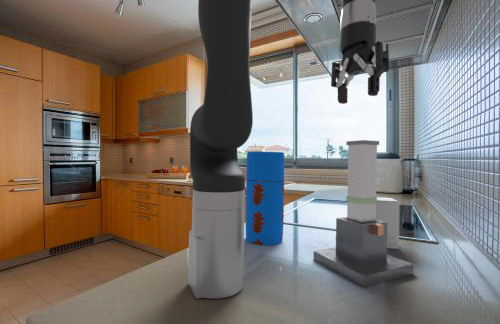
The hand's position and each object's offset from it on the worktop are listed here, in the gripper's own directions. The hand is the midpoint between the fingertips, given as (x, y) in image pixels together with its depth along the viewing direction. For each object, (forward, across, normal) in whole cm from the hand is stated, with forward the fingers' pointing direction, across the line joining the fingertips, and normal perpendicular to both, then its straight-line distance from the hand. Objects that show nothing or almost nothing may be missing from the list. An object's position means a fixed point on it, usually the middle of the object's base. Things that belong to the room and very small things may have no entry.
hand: (356, 99), depth 59 cm
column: (+28, +3, -1) cm, 29 cm away
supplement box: (+37, -7, +16) cm, 41 cm away
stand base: (+37, +3, -1) cm, 37 cm away
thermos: (+37, -22, -12) cm, 45 cm away
